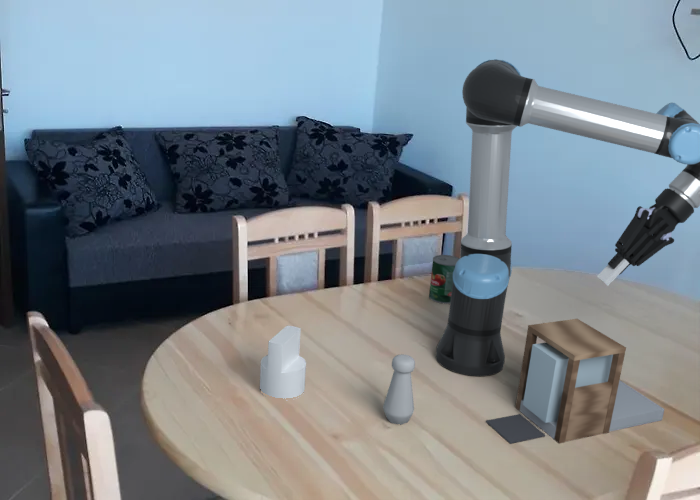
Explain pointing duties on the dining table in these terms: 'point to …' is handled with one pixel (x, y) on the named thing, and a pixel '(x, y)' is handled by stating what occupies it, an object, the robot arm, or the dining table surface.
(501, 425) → the dark grey square plate
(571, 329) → the tunnel
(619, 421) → the runway
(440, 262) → the canned tomato
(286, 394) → the cylinder with rectangular tab
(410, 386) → the salt shaker
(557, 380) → the block
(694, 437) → the dining table surface
